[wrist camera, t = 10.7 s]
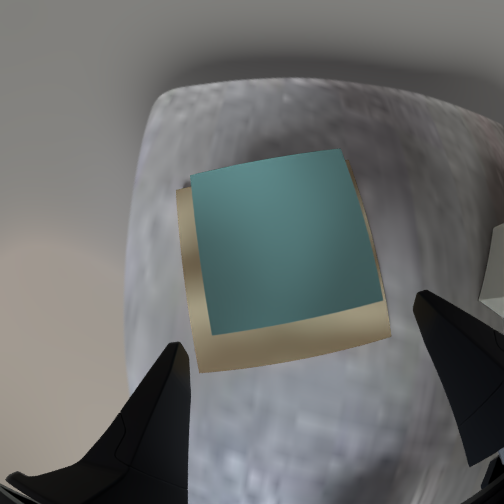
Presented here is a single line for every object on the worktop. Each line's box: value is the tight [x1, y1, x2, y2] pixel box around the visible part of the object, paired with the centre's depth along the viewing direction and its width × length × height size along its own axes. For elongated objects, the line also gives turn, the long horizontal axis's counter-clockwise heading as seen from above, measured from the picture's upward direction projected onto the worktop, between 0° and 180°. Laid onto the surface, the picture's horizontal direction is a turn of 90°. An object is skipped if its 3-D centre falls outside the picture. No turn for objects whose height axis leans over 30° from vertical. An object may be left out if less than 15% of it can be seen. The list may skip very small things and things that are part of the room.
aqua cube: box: [190, 149, 383, 336], centre depth 14 cm, size 7×7×6 cm
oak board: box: [176, 160, 391, 373], centre depth 18 cm, size 13×13×1 cm
